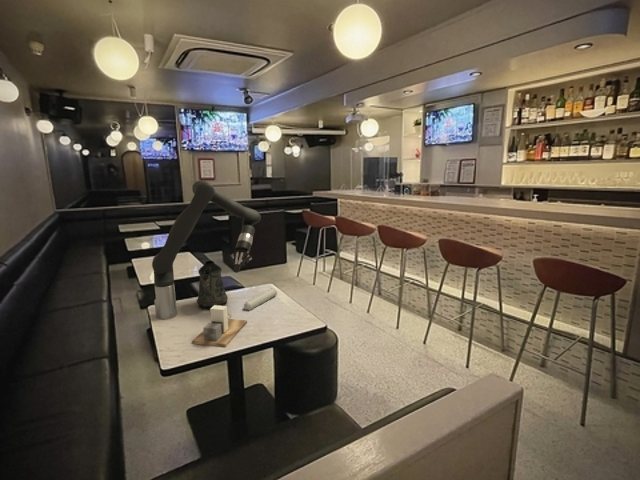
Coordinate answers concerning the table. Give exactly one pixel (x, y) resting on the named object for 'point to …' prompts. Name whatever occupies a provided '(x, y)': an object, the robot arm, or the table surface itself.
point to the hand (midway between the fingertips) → (235, 271)
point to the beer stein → (211, 287)
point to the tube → (260, 299)
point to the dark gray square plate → (219, 323)
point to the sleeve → (220, 315)
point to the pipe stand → (219, 333)
